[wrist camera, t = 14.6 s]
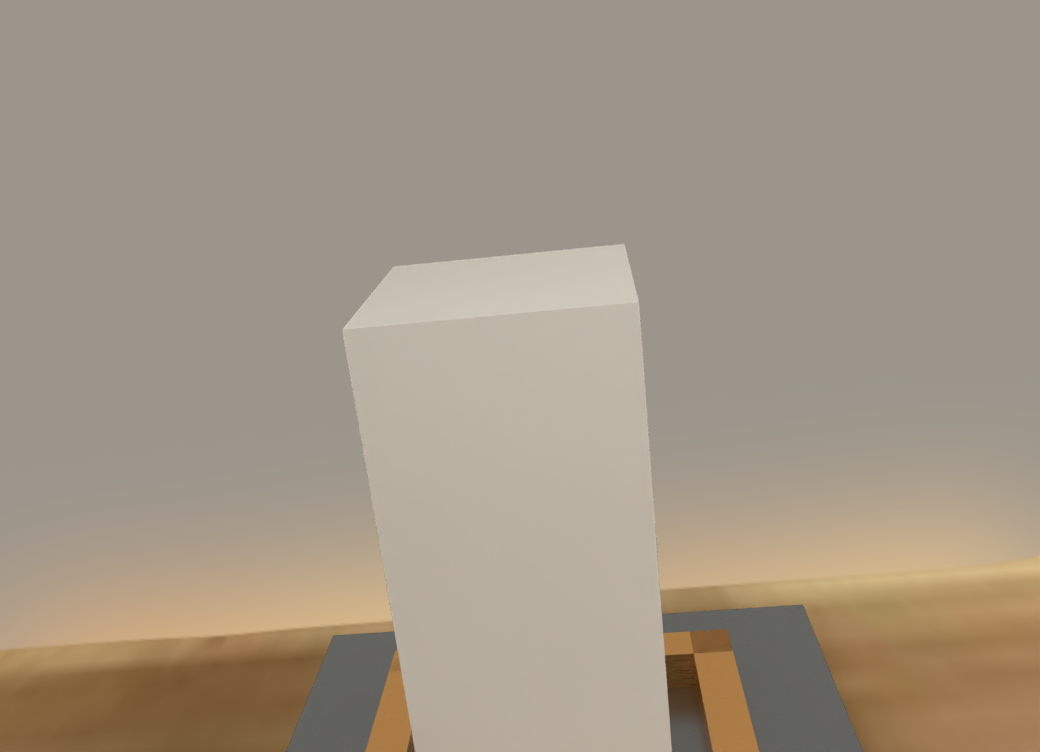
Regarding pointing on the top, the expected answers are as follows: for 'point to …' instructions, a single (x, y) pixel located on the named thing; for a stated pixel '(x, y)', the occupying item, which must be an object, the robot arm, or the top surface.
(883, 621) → the top surface
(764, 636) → the jig plate
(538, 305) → the column
